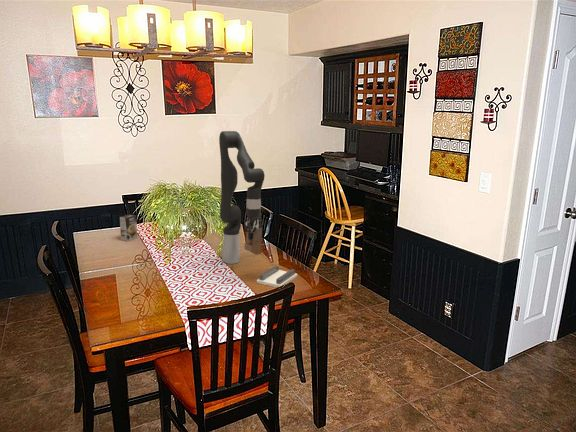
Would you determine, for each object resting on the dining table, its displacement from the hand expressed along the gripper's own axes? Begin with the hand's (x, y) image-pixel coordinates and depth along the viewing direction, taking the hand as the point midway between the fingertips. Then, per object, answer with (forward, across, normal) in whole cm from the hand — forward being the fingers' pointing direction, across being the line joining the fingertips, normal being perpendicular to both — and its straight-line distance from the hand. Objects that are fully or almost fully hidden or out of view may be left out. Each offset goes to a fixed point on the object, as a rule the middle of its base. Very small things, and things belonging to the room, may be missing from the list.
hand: (253, 238), depth 231 cm
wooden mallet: (+8, 0, 0) cm, 8 cm away
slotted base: (+21, -2, +14) cm, 25 cm away
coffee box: (+23, -14, -107) cm, 110 cm away
